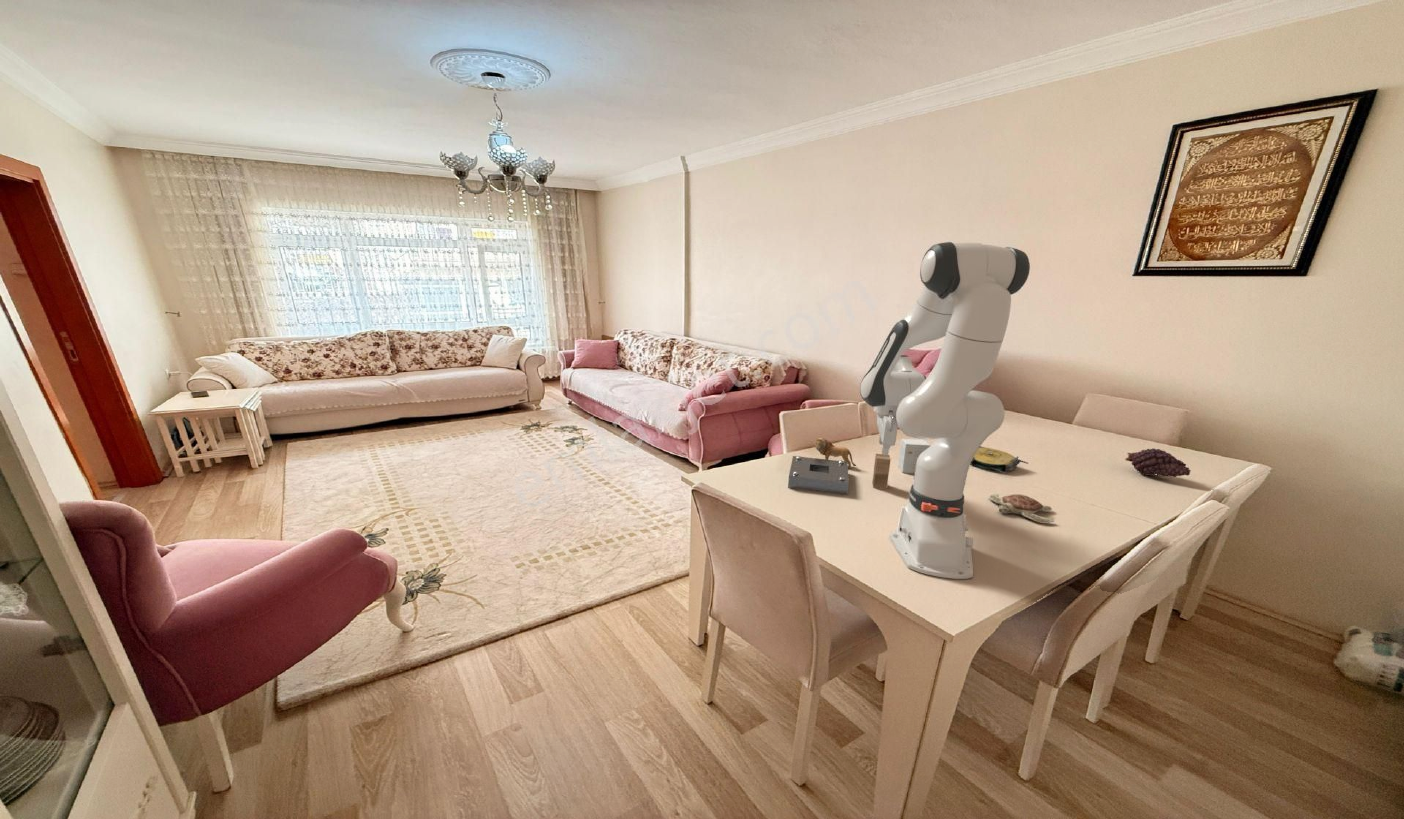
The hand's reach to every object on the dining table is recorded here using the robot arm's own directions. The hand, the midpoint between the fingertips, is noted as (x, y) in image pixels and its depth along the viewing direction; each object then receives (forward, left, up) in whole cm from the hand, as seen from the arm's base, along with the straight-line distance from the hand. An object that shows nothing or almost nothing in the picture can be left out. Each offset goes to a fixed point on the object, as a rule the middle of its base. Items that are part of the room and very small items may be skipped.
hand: (883, 449), depth 154 cm
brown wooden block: (-1, 0, -12) cm, 12 cm away
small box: (+16, -12, -13) cm, 24 cm away
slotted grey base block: (-2, +19, -12) cm, 23 cm away
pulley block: (+34, -37, -13) cm, 52 cm away
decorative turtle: (-7, -38, -13) cm, 41 cm away
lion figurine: (+14, +14, -13) cm, 24 cm away
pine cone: (+35, -92, -12) cm, 100 cm away
